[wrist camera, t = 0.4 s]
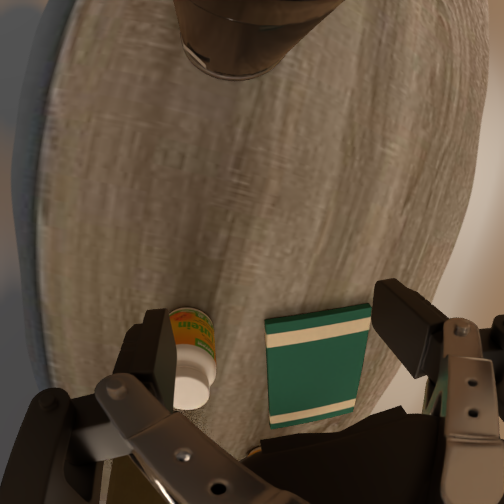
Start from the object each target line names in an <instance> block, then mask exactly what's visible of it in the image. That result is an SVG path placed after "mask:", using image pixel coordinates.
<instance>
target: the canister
mask: <svg viewBox="0 0 504 504" xmlns="http://www.w3.org/2000/svg"><path fill="white" fill-rule="evenodd" d="M106 504H167V503H166V501H165V500H164V499H163V498H162V496H161V495H160V494H159V493H158V492H157V490H156V489H155V488H154V487H153V486H152V485H151V483H150V482H149V481H148V480H147V479H146V477H145V476H144V475H143V474H142V473H141V471H140V470H139V469H138V468H137V466H136V465H135V464H134V462H133V461H132V460H131V459H130V457H129V456H128V455H125V456H121V457H117V458H113V463H112V469H111V475H110V481H109V487H108V494H107V501H106Z"/></svg>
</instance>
